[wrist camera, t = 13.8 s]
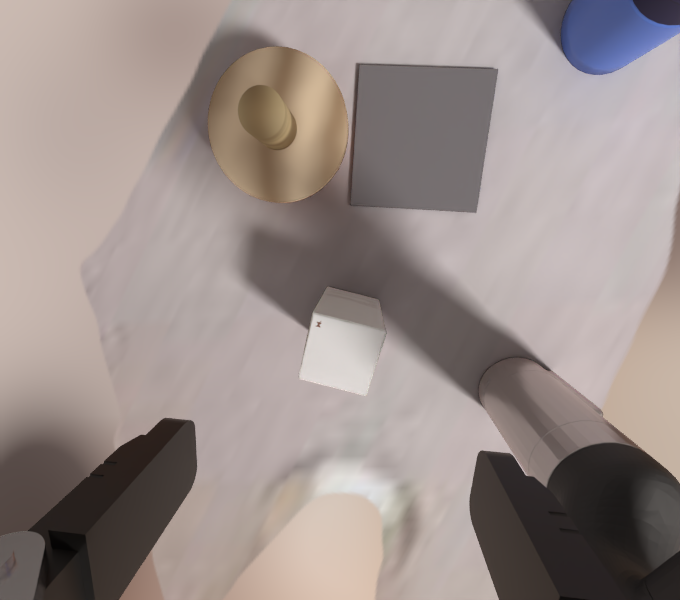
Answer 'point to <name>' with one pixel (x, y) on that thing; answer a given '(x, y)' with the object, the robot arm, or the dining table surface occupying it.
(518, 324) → the dining table surface
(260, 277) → the dining table surface
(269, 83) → the lid
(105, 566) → the robot arm
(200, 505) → the dining table surface
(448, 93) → the mat
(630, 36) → the water bottle
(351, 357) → the supplement box
